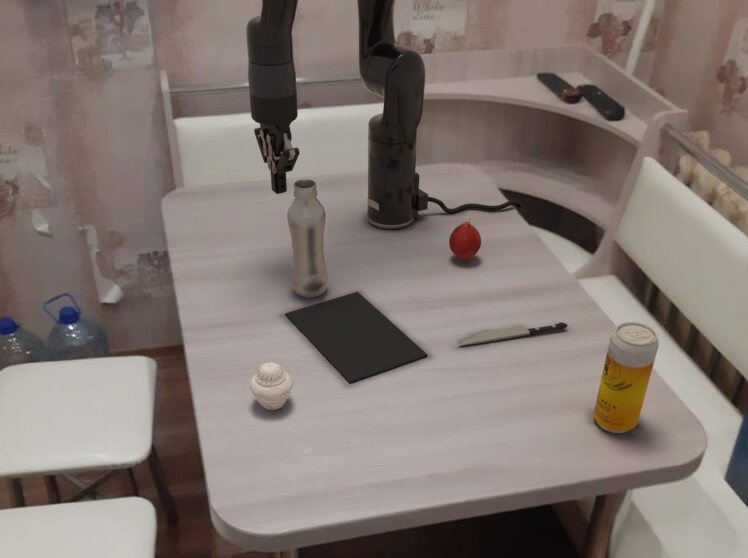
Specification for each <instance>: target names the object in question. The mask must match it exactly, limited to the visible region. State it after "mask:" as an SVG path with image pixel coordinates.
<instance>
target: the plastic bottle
mask: <svg viewBox="0 0 748 558" xmlns="http://www.w3.org/2000/svg"><path fill="white" fill-rule="evenodd" d="M317 196H318V190H317V183H316V181H315V180H313V179H308V178H303V179H299V180H296V181H295V182H294V183H293V197H294V199H293V201H292V202H291V204H290V205H289V207H288V210H287V215H286V218H287V219H286V220H287V224H288V229H289V233H290V239H291V248H292V249H291V250H292V265H291V266H292V267H291V273H290V282H291V283H290V284H291V287H292V290H293V291H294V292H295V293H296V294H297V295H298V296H300V297H303V298H315V297H319V296H321V295H322V294H323V293H324V292H325V291H326V290H327V288H328V283H329V275H328V270H327V266H326V260H325V251H324V243H325V242H324V239H325V238H324V237H325V227H326V218H327V217H326V216H327V215H326V214H327V213H326V210H325V208H324V206H323V204H322V203H321V201H320V200H319V199H318V198H317Z"/></svg>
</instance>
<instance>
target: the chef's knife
mask: <svg viewBox="0 0 748 558" xmlns="http://www.w3.org/2000/svg"><path fill="white" fill-rule="evenodd" d="M566 328H568V324H567V323H565V322H563V321H562V322H558V323H554V324H551V325H546V326H538V327H530V328H527V327H525V326H523V325H522V324H518V325H513V326H509V327H502V328H498V329H492V330H488V331H484V332H480V333H477V334H475V335H473V336H471V337H469V338H467V339H464V340H463V341H462V342H460V343H459V344H458V346H457V347H463V346H469V345H477V344H482V343H483V344H484V343H488V342H489V343H490V342H495V341H501V340H506V339H511V338H518V337H523V336H530V335H536V334H541V333H546V332H552V331H557V330H564V329H566Z"/></svg>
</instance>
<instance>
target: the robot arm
mask: <svg viewBox="0 0 748 558" xmlns="http://www.w3.org/2000/svg"><path fill="white" fill-rule="evenodd" d="M298 3H299V0H261V12H260V15H257V16H254V17H252V18H250V20H248V22H247V23H246V28H245V29H246V30H245V31H246V50H247V59H248V60H247V61H248V63H247V64H248V65H247V80H248V81H247V82H248V93H249V105H250V117H251V119H252V120H253V121H254V122H255V123H257V124H259V127H256V128H253V133H254V136H255V139H256V142H257V145H258V148H259V151H260V155H261V158H262V161H263V163H264V164H267V168H268V170H269V171H270V184H271V185H270V186H271V190H272V192H274V193H275V194H276V195H279V194H285V193H286V192H287V191H288V186H287V184H288V183H287V173H290V172H292V171H293V170H294V168H295V165H296V163H297V160H298V158H299V157H300V149H299V147H293V144H292V140H293V139H292V138H293V135H292V131H291V127H290V126H291V124H292V123H293V122H294V121H295V120H297V118H298V116H299V112H298V90H297V72H296V67H295V59H294V41H293V39H294V38H293V28H294V23H295V20H296V15H297V10H298V9H297V8H298ZM356 3H357V4H356V5H357V14H358V15H357V16H358V69H359V76H360V80H361V82H362V85H363V86H364V88H365V89H366V90H367V91H369V92H370V93H372V94H374V95H376V96H379V97H381V98H382V99H383V107H382V113H378V114H376V115H373V116H371V118H370V119H369V120H368V123H367V212H366V213H367V214H366V220H367V222H368V223H369V224H370V225H372V226H373V227H376V228H379V229H382V230H383V229H384V230H398V229H404V228H406V227H409V226H410V225H412V224H413V223H414V221H418V220H419V219H418V217H419V212H421V211H426V210H428V208H429V207H428V206H429V202H430V203H433V204H436V205H438V206H439V207H440V209H441V210H442V211H443V212H444V213H447V214H457V213H459V212H462V211H464V210H468V209H474V210H475V209H476V210H482V211H495V212H496V211H502V210H503V209H506V208H508V207H511V206H516V207H517V208H520V209H521V208H524V205H523V204H522V203H521V202H520V201H518V200H516V199H512V200H507V201H506V202H504V203H501V204H498V205H489V204H482V203H472V202H471V203H465V204H462V205H459V206H456V207H454V208H448V207H447V205H446V204H445V203H444V202H443V200H441V199H438V198H436V197H432V196H429V194H428V193H427V192H425V191H424V190H422V189H420V174H419V173H418V172H417V171H416V167H417V165H416V164H417V141H418V128H419V126H420V123H421V120H422V116H423V110H424V98H425V89H426V65H425V62H424V59H423V57H422V56H421V54H420V53H419V52H418V51H416V50H414V49H412V48H409V47H406V46H403V45H399V44H397V40H396V36H395V25H394V10H395V5H396V0H356Z"/></svg>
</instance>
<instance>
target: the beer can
mask: <svg viewBox="0 0 748 558" xmlns="http://www.w3.org/2000/svg"><path fill="white" fill-rule="evenodd" d="M659 345H660V342H659V339H658V334H657V331H656V330H655V329H654V328H653V327H651V326H649V325H648V324H644V323H641V322H635V321H627V322H623V323H620V324H619V325H617V326H616V327H615V330H613V332H612V333H611V335H610V338H609V343H608V347H607V352H606V357H605V361H604V364H603V366H604V367H603V371H602V375H601V378H600V382H599V387H598V392H597V396H596V401H595V405H594V410H593V418H594V420H595V422H596V423H597V425H598V426H599V427H600V428H601V429H603V430H604V431H606V432H609V433H613V434H623V433H627V432H629V431H631V430H632V429H634V428H636V426H637V425H638V422H639V419H640V415H641V412H642V408H643V405H644V402H645V401H644V400H645V397H646V393H647V390H648V386H649V382H650V379H651V375H652V371H653V367H654V364H655V360H656V357H657V353H658V349H659Z"/></svg>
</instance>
